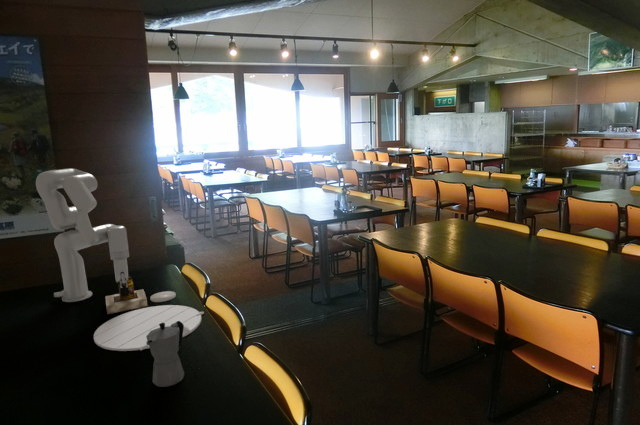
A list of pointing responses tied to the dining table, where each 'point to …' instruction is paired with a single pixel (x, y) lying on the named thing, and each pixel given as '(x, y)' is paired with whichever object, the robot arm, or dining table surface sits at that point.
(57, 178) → the robot arm
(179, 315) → the lazy susan
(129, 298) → the condiment
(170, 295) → the coaster
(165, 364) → the coffeepot
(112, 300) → the holder
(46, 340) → the dining table surface
